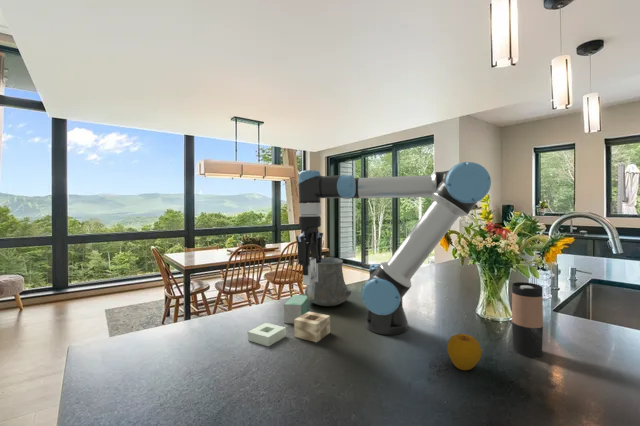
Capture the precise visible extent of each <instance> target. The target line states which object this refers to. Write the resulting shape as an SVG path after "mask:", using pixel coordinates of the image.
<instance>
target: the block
mask: <svg viewBox="0 0 640 426" xmlns="http://www.w3.org/2000/svg"><path fill="white" fill-rule="evenodd" d="M293 325H294V326H293V327H294V337H295V338H299V339H302V340H306V341H310V342H314V343H318V342H319V341H321V340H322V339H324V338H325V337H327V336H328V335H329V334H330V333H331V315H328V314H323V313H319V312H313V311H310V312H307V313H305V314H303V315H302V316H300V317H298V318H296V319H294V324H293Z"/></svg>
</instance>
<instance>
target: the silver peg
mask: <svg viewBox="0 0 640 426" xmlns="http://www.w3.org/2000/svg"><path fill="white" fill-rule="evenodd" d="M309 265H310V266H311V285H306V286H307V299H308V300H313V299H315V290H314V277H315V276H316V258H311V257H310V260H309Z"/></svg>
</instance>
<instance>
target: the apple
mask: <svg viewBox="0 0 640 426" xmlns="http://www.w3.org/2000/svg"><path fill="white" fill-rule="evenodd" d="M446 347H447V348H446V349H447V353H448V354H447V355H448V356H449V359H450V361H451V362H452V364H453V365H454V367H456V368H457V369H458V370H461V371H469V370H472V369H473V368H474V367H476V365H477V364H478V362H480V359H481V358H482V354H483V353H482V348H481V345H480V343H479V342H478V340H477V339H476V338H474V336H472V335H469V334H465V333H458V334H454V335H451V337H450V338H449V339H448V342H447V346H446Z"/></svg>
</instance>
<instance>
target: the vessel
mask: <svg viewBox="0 0 640 426" xmlns="http://www.w3.org/2000/svg"><path fill="white" fill-rule="evenodd" d="M319 261H321V263H318V282H314V290H315V299H313V300H309V301H310V302H311V303H313V304H315V305H317V306H321V307H322V306H323V307H333V306H334V307H335V306H339V305H342V303H345V302H346V301H347V300H348V299H349V298H350V296H351V295H352V291H351V290H348V287H347V285H346V282H345V279H344V273H343V263H344V260H343V259H342V258H337V257H322V260H319ZM303 294H304V295H307V285H306V287H305V290H304V292H303Z"/></svg>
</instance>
